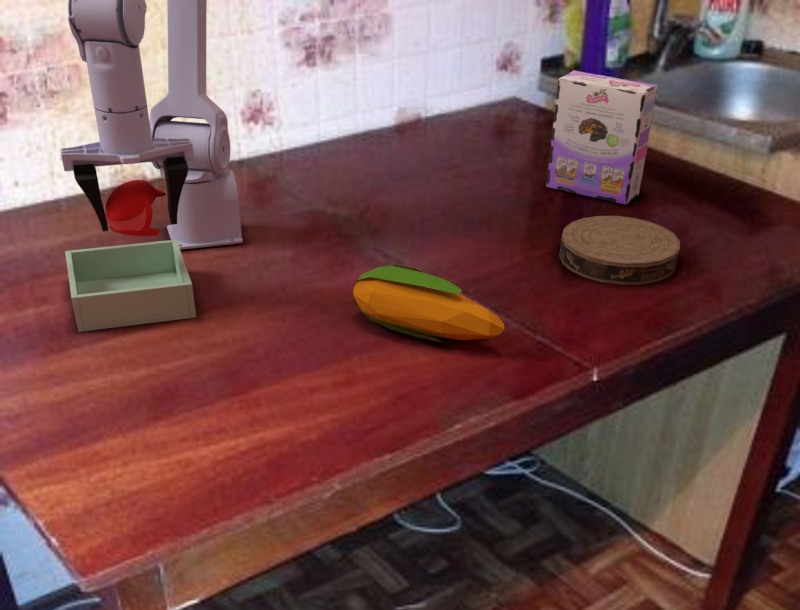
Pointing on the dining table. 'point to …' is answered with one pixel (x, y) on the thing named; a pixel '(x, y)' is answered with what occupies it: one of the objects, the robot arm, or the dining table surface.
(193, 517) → the dining table surface
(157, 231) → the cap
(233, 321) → the dining table surface
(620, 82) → the candy box
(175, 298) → the bin
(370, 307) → the corn
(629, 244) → the tin can
